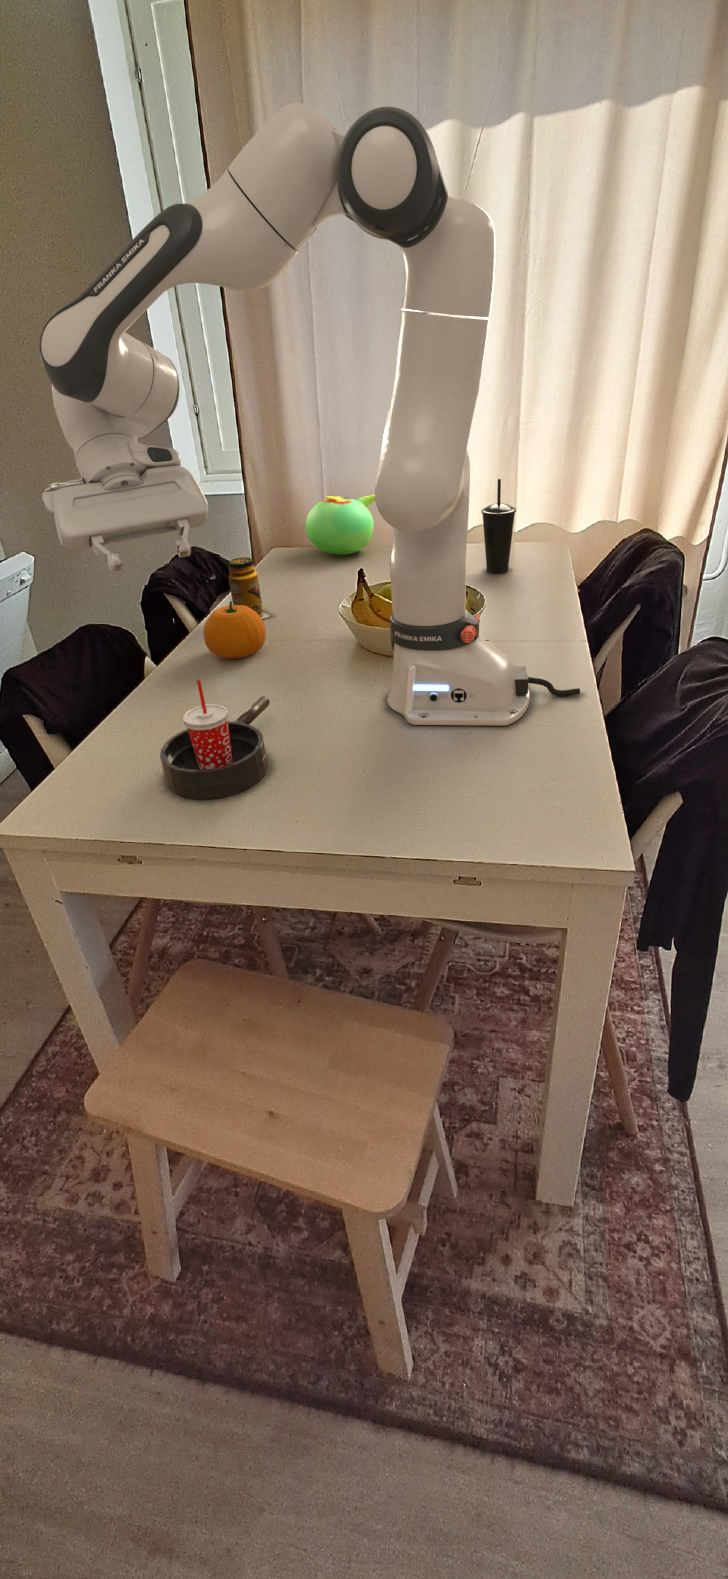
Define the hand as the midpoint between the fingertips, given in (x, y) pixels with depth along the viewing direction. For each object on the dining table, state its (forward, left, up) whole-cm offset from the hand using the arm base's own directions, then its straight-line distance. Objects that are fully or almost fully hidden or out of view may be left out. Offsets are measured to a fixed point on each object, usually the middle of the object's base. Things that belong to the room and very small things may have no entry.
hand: (151, 561), depth 102 cm
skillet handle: (-9, -4, -25) cm, 27 cm away
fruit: (+10, -34, -28) cm, 45 cm away
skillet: (-9, +7, -27) cm, 30 cm away
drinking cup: (-28, -90, -28) cm, 98 cm away
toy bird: (+15, -101, -28) cm, 105 cm away
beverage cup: (-9, +7, -27) cm, 30 cm away
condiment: (+18, -52, -28) cm, 61 cm away
